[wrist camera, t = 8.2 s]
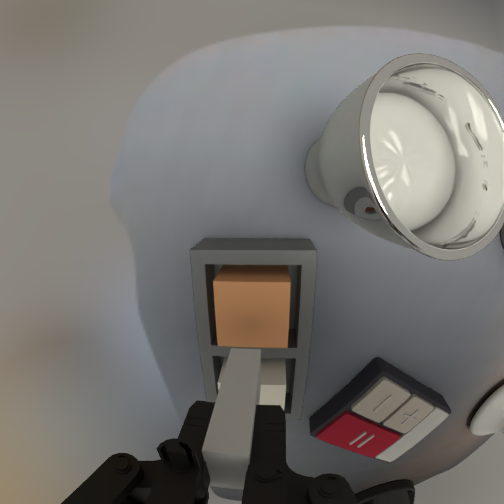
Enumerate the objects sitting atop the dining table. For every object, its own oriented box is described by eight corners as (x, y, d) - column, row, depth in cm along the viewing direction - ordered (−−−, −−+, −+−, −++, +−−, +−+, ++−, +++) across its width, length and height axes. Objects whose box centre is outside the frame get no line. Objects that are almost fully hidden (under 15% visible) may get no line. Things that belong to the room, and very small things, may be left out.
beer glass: (290, 133, 20) (323, 42, 6) (372, 124, 19) (493, 63, 5) (307, 219, 22) (369, 288, 7) (386, 207, 21) (522, 247, 6)
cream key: (282, 396, 23) (282, 426, 19) (229, 394, 24) (222, 423, 20) (284, 354, 22) (286, 384, 18) (225, 353, 22) (217, 382, 19)
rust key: (285, 321, 23) (287, 347, 19) (226, 320, 23) (217, 345, 19) (287, 264, 21) (290, 282, 18) (223, 264, 22) (213, 281, 18)
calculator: (385, 374, 21) (455, 415, 21) (374, 350, 25) (442, 395, 26) (308, 440, 24) (390, 467, 24) (307, 413, 28) (384, 445, 28)
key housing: (298, 393, 26) (300, 419, 22) (216, 390, 27) (209, 416, 23) (309, 238, 22) (316, 250, 18) (203, 238, 23) (189, 249, 19)
